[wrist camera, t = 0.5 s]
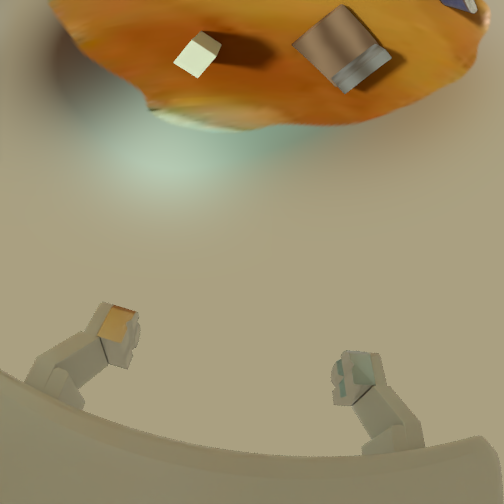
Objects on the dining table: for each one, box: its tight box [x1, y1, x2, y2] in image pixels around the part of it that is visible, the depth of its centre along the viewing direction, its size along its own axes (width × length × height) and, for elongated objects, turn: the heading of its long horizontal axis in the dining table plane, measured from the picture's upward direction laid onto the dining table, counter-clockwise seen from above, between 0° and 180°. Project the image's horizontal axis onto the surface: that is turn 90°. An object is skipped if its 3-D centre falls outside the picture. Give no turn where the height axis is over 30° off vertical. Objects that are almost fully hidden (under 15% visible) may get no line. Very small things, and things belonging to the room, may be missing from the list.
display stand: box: [292, 5, 392, 94], centre depth 38 cm, size 12×11×6 cm
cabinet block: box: [174, 31, 222, 78], centre depth 37 cm, size 4×4×10 cm
